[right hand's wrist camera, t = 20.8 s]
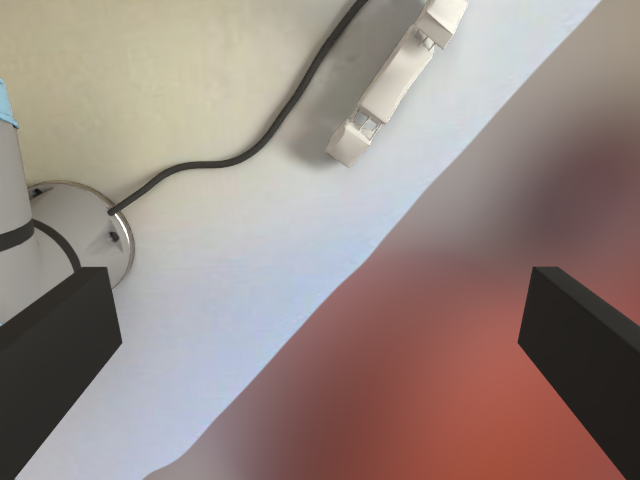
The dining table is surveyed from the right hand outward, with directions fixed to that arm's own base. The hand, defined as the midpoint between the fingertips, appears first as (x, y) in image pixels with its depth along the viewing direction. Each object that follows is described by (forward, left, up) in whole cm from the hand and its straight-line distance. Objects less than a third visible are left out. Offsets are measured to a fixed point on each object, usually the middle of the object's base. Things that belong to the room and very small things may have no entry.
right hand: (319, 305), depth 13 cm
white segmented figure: (-10, +2, -36) cm, 38 cm away
